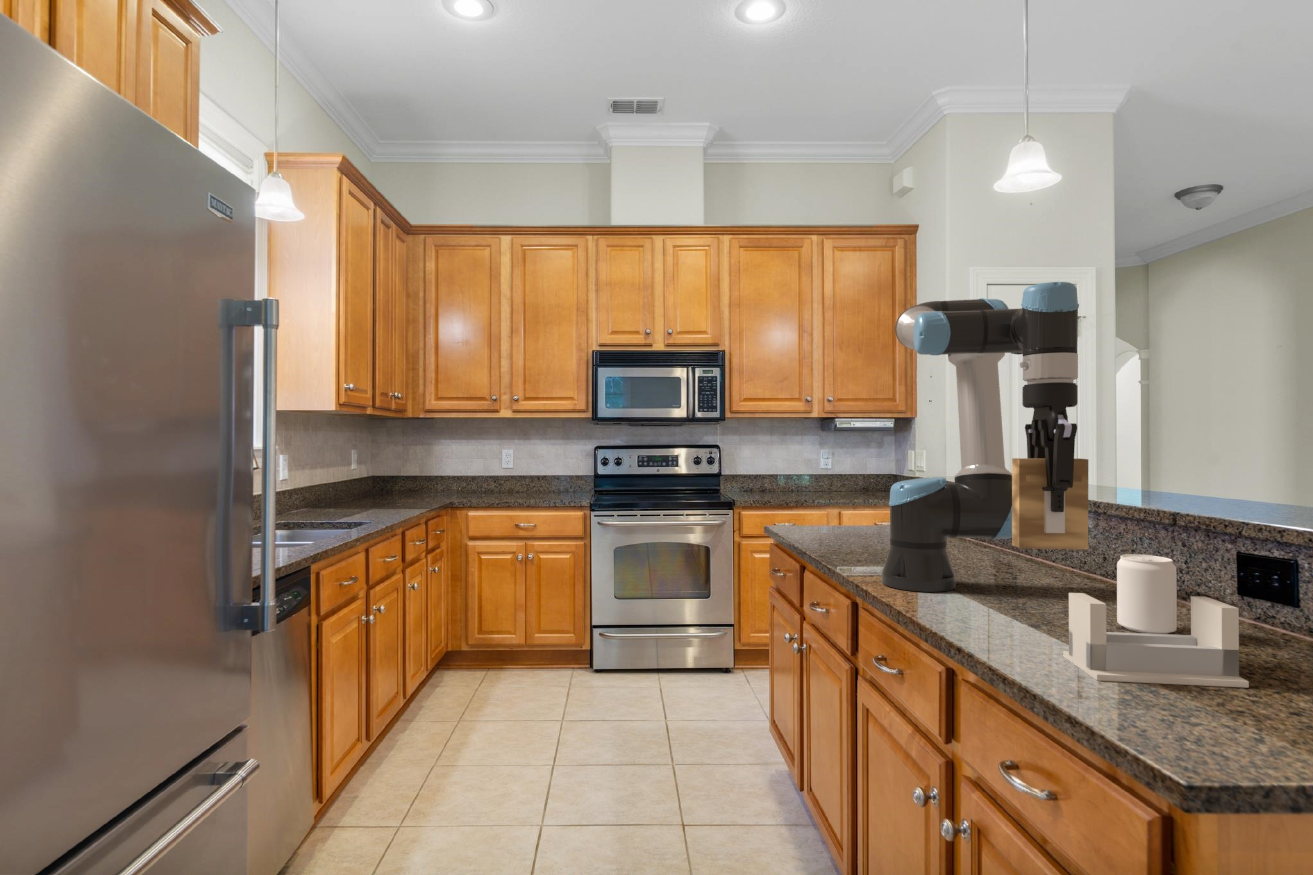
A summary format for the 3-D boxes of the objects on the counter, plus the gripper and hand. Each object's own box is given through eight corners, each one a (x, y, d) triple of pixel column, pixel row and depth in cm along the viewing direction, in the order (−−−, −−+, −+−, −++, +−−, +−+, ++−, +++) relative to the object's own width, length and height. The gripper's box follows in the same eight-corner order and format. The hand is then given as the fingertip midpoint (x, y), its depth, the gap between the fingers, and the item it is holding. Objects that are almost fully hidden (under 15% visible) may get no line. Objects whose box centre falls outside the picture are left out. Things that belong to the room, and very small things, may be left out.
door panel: (1011, 544, 108) (1011, 458, 108) (1078, 546, 107) (1078, 458, 107) (1019, 548, 105) (1019, 459, 105) (1088, 549, 104) (1088, 459, 104)
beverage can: (1187, 637, 108) (1187, 563, 108) (1131, 634, 110) (1131, 561, 110) (1160, 623, 116) (1160, 554, 116) (1108, 621, 118) (1108, 553, 118)
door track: (1063, 656, 99) (1063, 589, 99) (1198, 661, 96) (1198, 593, 96) (1097, 680, 89) (1096, 606, 89) (1248, 687, 86) (1248, 611, 86)
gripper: (1005, 386, 114) (1005, 523, 115) (1045, 379, 98) (1045, 538, 99) (1053, 385, 113) (1052, 524, 113) (1101, 378, 97) (1100, 539, 98)
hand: (1049, 530), depth 106 cm, fingers closed on door panel, 3 cm apart
